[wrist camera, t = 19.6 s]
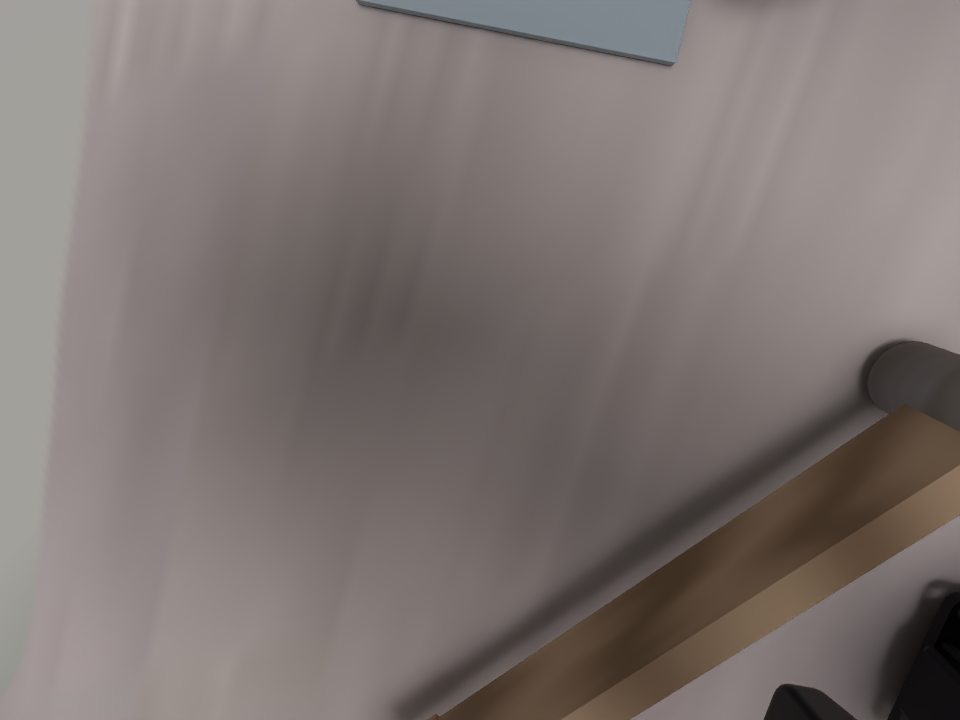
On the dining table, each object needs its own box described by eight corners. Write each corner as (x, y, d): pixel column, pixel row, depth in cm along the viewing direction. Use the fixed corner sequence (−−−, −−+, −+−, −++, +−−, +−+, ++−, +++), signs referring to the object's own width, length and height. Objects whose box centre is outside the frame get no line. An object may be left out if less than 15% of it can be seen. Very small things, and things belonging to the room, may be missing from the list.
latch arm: (922, 326, 18) (1077, 372, 13) (960, 383, 18) (1124, 448, 14) (373, 708, 23) (340, 847, 18) (415, 747, 23) (394, 893, 18)
